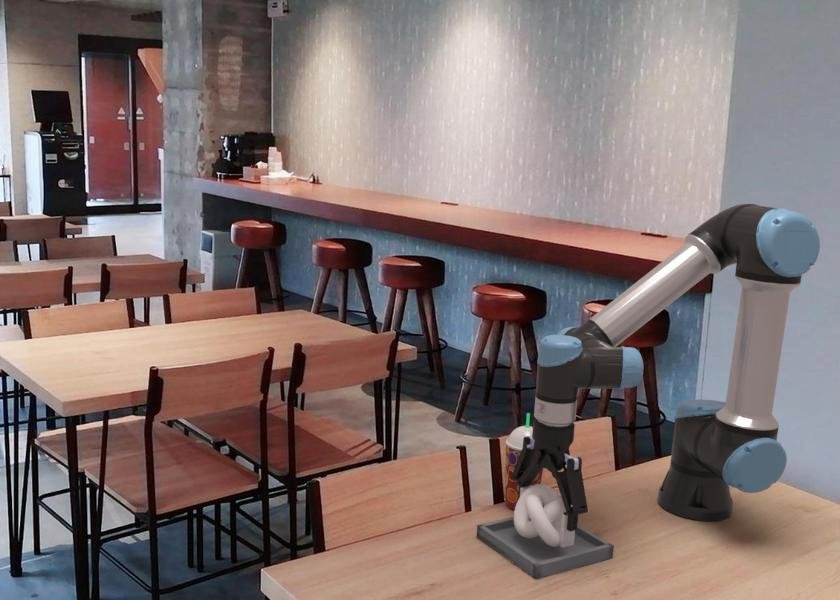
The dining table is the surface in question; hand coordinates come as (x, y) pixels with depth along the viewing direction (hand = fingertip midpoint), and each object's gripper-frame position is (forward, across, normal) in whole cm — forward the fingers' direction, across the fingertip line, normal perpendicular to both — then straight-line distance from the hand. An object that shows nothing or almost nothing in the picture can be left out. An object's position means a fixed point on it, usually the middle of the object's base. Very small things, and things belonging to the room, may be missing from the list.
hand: (545, 531), depth 169 cm
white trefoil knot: (+1, +1, 0) cm, 1 cm away
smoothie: (+3, -17, +8) cm, 19 cm away
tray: (+3, 0, 0) cm, 3 cm away
